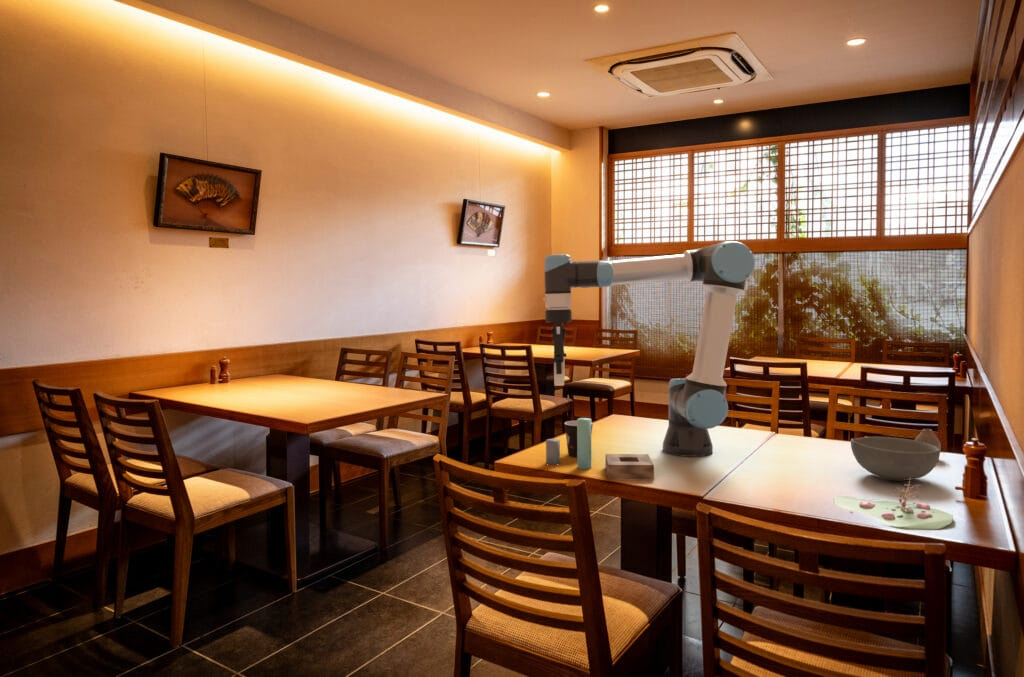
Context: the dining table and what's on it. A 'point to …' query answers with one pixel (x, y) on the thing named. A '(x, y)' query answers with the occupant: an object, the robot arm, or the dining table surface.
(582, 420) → the teal dowel
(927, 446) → the bowl
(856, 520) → the dining table surface
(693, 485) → the dining table surface
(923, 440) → the vase
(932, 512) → the plant
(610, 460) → the socket block
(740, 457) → the dining table surface
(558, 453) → the grey-blue block
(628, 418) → the dining table surface
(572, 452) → the coffee mug
